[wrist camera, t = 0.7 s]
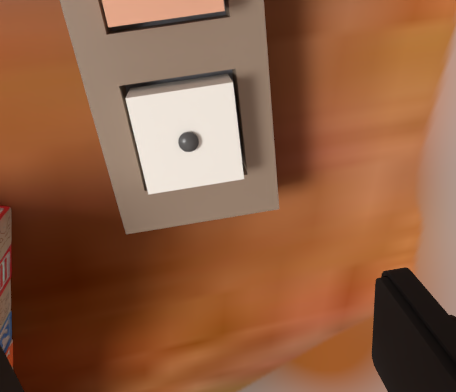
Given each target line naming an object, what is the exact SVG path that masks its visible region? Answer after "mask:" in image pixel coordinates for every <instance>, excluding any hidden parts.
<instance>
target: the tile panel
mask: <svg viewBox="0 0 456 392" xmlns="http://www.w3.org/2000/svg"><path fill="white" fill-rule="evenodd" d="M60 3H61V6H62V10H63V14H64V17H65V21H66V24H67V28H68V31H69V35H70V38H71V42H72V45H73V49H74V52H75V56H76V59H77V63H78V67H79V70H80V74H81V77H82V81H83V84H84V88H85V91H86V95H87V98H88V102H89V105H90V109H91V112H92V116H93V120H94V123H95V127H96V130H97V134H98V137H99V141H100V144H101V148H102V151H103V155H104V158H105V162H106V165H107V169H108V173H109V176H110V180H111V183H112V187H113V190H114V194H115V197H116V201H117V204H118V208H119V211H120V215H121V218H122V222H123V226H124V229H125V233H126V234H132V233H138V232H144V231H150V230H156V229H162V228H168V227H174V226H180V225H186V224H192V223H198V222H204V221H210V220H216V219H222V218H228V217H234V216H240V215H246V214H252V213H258V212H265V211H271V210H277V209H279V199H278V186H277V172H276V159H275V145H274V132H273V118H272V105H271V91H270V78H269V64H268V51H267V38H266V24H265V11H264V0H224V9H225V11H221V12H214V13H207V14H200V15H193V16H186V17H179V18H172V19H165V20H157V21H150V22H143V23H136V24H129V25H122V26H115V27H108V24H107V20H106V16H105V12H104V7H103V3H102V0H60ZM223 74H228V75H229V77H230V78H231V80H232V82H233V87H234V96H235V104H236V113H237V122H238V130H239V139H240V148H241V156H242V165H243V174H244V179H242V180H236V181H229V182H223V183H217V184H211V185H205V186H199V187H192V188H186V189H180V190H174V191H168V192H161V193H155V194H149V195H148V191H147V187H146V182H145V178H144V174H143V170H142V166H141V162H140V157H139V153H138V149H137V145H136V141H135V137H134V132H133V128H132V124H131V120H130V116H129V112H128V107H127V103H126V99H125V98H126V96H127V94H128V91H129V89H130V88H136V87H142V86H149V85H156V84H162V83H169V82H176V81H183V80H189V79H196V78H203V77H209V76H216V75H223Z"/></svg>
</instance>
